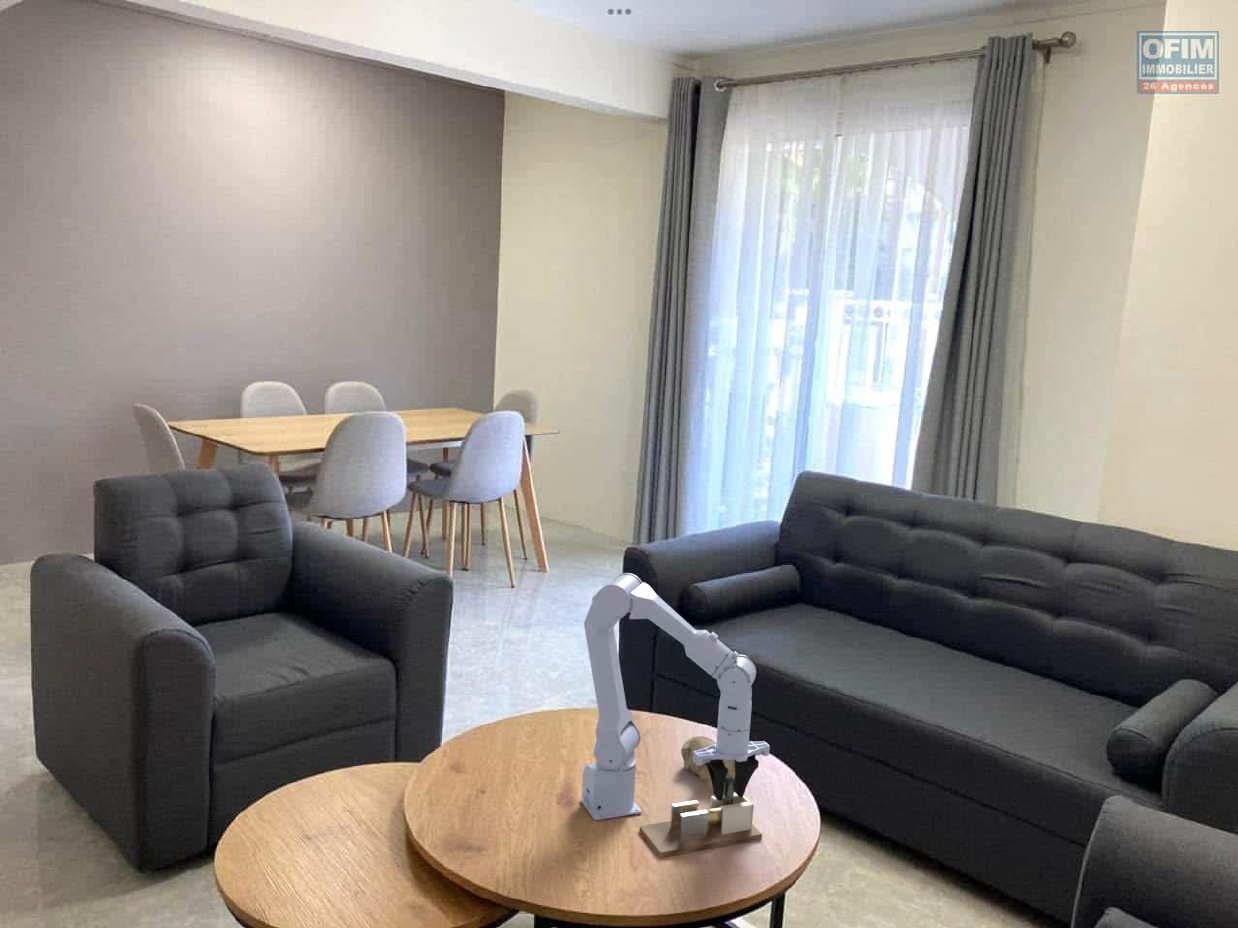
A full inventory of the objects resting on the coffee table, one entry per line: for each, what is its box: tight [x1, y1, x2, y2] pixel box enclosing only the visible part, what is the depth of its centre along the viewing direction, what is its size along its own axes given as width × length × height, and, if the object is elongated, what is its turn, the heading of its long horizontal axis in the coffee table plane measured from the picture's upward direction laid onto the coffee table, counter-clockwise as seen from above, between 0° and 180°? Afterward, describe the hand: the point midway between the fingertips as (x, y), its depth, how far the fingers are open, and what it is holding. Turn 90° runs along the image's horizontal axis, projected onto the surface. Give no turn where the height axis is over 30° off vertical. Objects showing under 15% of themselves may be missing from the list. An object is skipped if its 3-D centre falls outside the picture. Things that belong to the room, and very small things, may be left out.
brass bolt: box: [686, 776, 735, 825], centre depth 178 cm, size 11×3×9 cm, turn 112°
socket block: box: [709, 792, 754, 834], centre depth 180 cm, size 6×5×5 cm
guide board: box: [638, 799, 763, 859], centre depth 178 cm, size 20×9×6 cm, turn 112°
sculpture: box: [680, 735, 735, 792], centre depth 198 cm, size 9×17×10 cm
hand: (728, 796), depth 179 cm, fingers open, 4 cm apart
